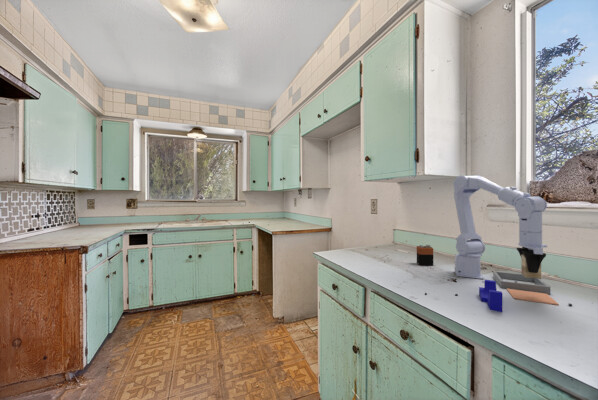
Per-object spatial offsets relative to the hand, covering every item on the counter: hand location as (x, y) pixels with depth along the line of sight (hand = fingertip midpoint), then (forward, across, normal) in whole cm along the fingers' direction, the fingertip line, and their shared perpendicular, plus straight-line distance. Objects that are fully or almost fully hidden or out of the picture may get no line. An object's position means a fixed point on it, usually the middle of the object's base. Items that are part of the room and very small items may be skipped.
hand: (530, 270), depth 83 cm
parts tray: (+9, +12, 0) cm, 16 cm away
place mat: (+9, 0, 0) cm, 9 cm away
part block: (+2, 0, 0) cm, 2 cm away
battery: (+9, +28, +33) cm, 44 cm away
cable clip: (+10, -12, +13) cm, 20 cm away
